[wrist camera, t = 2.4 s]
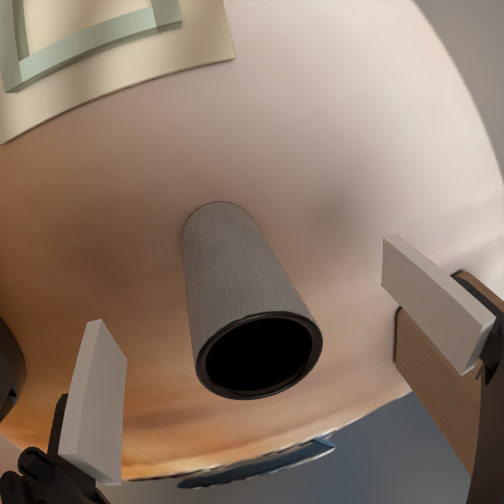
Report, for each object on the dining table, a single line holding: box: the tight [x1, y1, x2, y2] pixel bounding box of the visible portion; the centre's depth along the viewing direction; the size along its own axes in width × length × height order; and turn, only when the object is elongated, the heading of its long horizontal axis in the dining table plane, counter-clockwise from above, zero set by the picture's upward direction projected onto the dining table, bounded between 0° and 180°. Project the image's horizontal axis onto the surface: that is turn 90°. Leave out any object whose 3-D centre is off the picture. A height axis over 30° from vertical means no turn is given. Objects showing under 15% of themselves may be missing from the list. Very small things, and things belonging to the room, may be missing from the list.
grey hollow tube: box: [182, 202, 323, 400], centre depth 14 cm, size 4×4×10 cm
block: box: [395, 272, 504, 478], centre depth 20 cm, size 10×10×20 cm
